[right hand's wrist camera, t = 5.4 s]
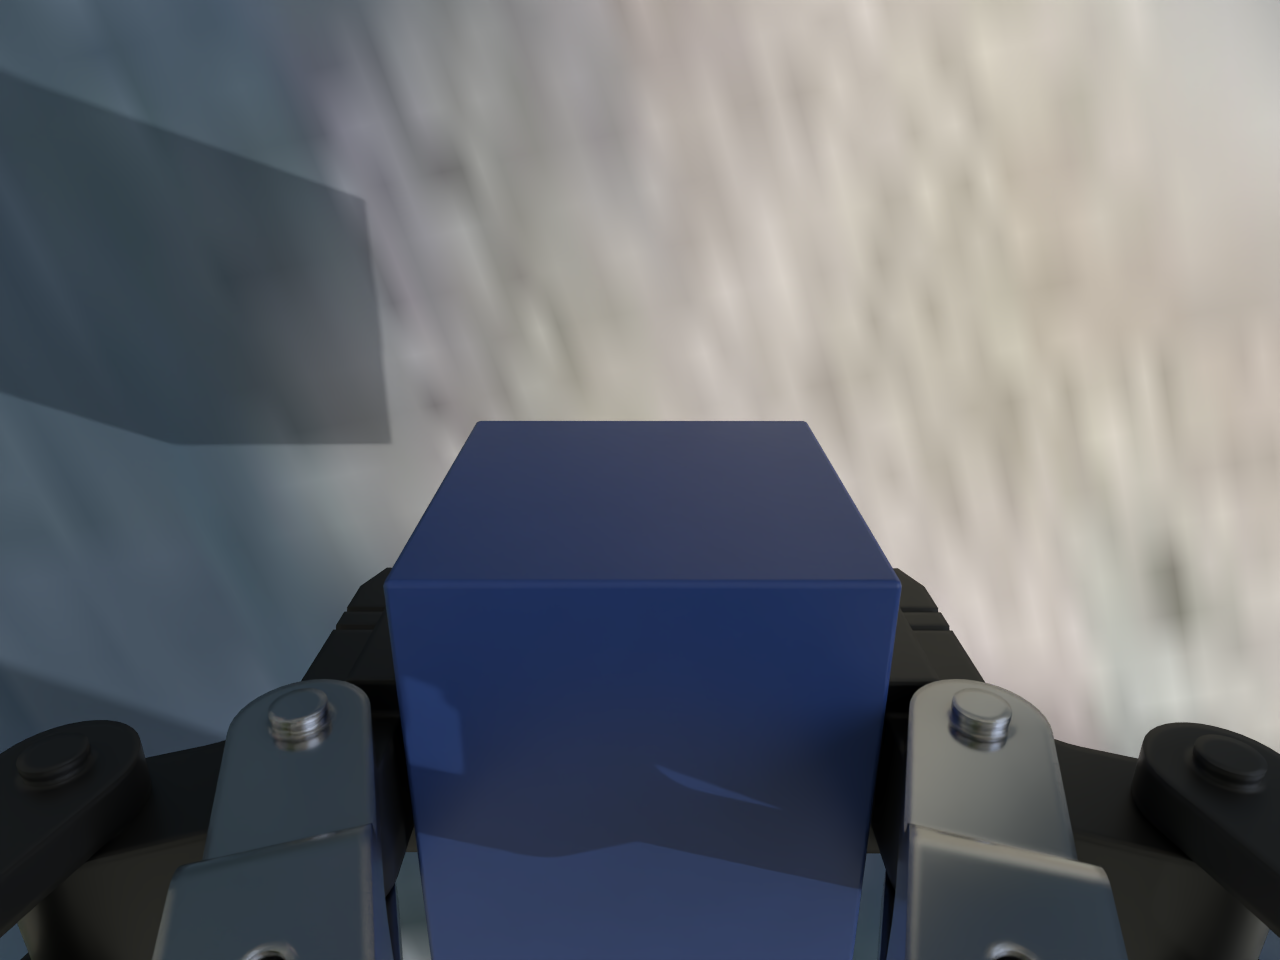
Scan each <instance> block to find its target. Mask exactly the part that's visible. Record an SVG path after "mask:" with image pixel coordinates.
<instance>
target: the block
mask: <svg viewBox="0 0 1280 960" xmlns="http://www.w3.org/2000/svg"><path fill="white" fill-rule="evenodd" d="M383 587H384V595H385V603H386V611H387V618H388V626H389V634H390V642H391V649H392V657H393V665H394V673H395V681H396V688H397V696H398V704H399V712H400V719H401V727H402V735H403V743H404V750H405V758H406V766H407V774H408V782H409V789H410V797H411V805H412V813H413V820H414V828H415V836H416V844H417V851H418V859H419V867H420V875H421V883H422V890H423V898H424V906H425V914H426V921H427V929H428V937H429V945H430V952H431V960H852V959H853V952H854V944H855V937H856V929H857V921H858V914H859V906H860V899H861V891H862V884H863V876H864V868H865V861H866V853H867V846H868V838H869V831H870V823H871V815H872V808H873V800H874V793H875V785H876V777H877V770H878V762H879V755H880V747H881V740H882V732H883V724H884V717H885V709H886V702H887V694H888V686H889V679H890V671H891V664H892V656H893V649H894V641H895V633H896V626H897V618H898V611H899V603H900V595H901V588H902V585H901V582H900V580H899V578H898V577H897V575H896V573H895V572H894V570H893V568H892V566H891V565H890V563H889V561H888V560H887V558H886V556H885V555H884V553H883V551H882V549H881V548H880V546H879V544H878V543H877V541H876V539H875V538H874V536H873V534H872V532H871V531H870V529H869V527H868V526H867V524H866V522H865V521H864V519H863V517H862V516H861V514H860V512H859V510H858V509H857V507H856V505H855V504H854V502H853V500H852V499H851V497H850V495H849V493H848V492H847V490H846V488H845V487H844V485H843V483H842V482H841V480H840V478H839V477H838V475H837V473H836V471H835V470H834V468H833V466H832V465H831V463H830V461H829V460H828V458H827V456H826V454H825V453H824V451H823V449H822V448H821V446H820V444H819V443H818V441H817V439H816V438H815V436H814V434H813V432H812V431H811V429H810V427H809V426H808V424H807V423H806V422H804V421H479V422H477V423H476V425H475V427H474V428H473V430H472V432H471V434H470V435H469V437H468V439H467V440H466V442H465V444H464V446H463V447H462V449H461V451H460V452H459V454H458V456H457V458H456V459H455V461H454V463H453V465H452V466H451V468H450V470H449V471H448V473H447V475H446V477H445V478H444V480H443V482H442V483H441V485H440V487H439V489H438V490H437V492H436V494H435V495H434V497H433V499H432V501H431V502H430V504H429V506H428V508H427V509H426V511H425V513H424V514H423V516H422V518H421V520H420V521H419V523H418V525H417V526H416V528H415V530H414V532H413V533H412V535H411V537H410V538H409V540H408V542H407V544H406V545H405V547H404V549H403V551H402V552H401V554H400V556H399V557H398V559H397V561H396V563H395V564H394V566H393V568H392V569H391V571H390V573H389V575H388V576H387V578H386V580H385V582H384V585H383Z"/></svg>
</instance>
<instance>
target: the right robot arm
mask: <svg viewBox="0 0 1280 960" xmlns="http://www.w3.org/2000/svg"><path fill="white" fill-rule="evenodd" d="M391 569H392V568H386V569H384V570H383V571H382V572H380V573H379V574H377V575H376V576H374V577H373V578H371V579H370V580H369V581H367V582H366V583H364V584H363V585H361V586H360V588H359V589H358V591H357V593H356V594H355V596H354V597H353V599H352V601H351V602H350V604H349V605H348V607H347V612H344V613H343V615H342V617H341V618H340V620H339V621H338V623H337V625H336V630H333V631H332V633H331V634H330V636H329V637H328V639H327V641H326V642H325V644H324V645H323V647H322V649H321V650H320V652H319V653H318V655H317V657H316V658H315V660H314V661H313V663H312V665H311V666H310V668H309V669H308V671H307V673H306V674H305V676H304V677H303V679H302V681H301V682H296V683H292V684H288V685H285V686H282V687H279V688H277V689H274V690H272V691H269V692H267V693H265V694H263V695H262V696H260V697H258V698H256V699H255V700H253V701H252V702H250V703H249V704H248V705H247V706H245V707H244V708H243V709H242V710H241V711H240V712H239V713H238V714H237V715H236V716H235V717H234V719H233V721H232V722H231V724H230V726H229V729H228V732H227V737H226V740H224V741H221V742H218V743H214V744H210V745H206V746H201V747H197V748H192V749H187V750H182V751H177V752H172V753H168V754H163V755H158V756H153V757H148V758H145V755H144V752H143V748H142V744H141V741H140V738H139V735H138V733H137V732H136V731H135V730H134V729H133V728H132V727H130V726H128V725H126V724H123V723H120V722H116V721H109V720H93V721H82V722H77V723H72V724H67V725H63V726H60V727H56V728H53V729H50V730H47V731H44V732H41V733H39V734H37V735H34V736H32V737H30V738H27V739H25V740H24V741H22V742H20V743H18V744H16V745H14V746H12V747H11V748H9V749H7V750H6V751H4V752H3V753H1V754H0V938H1V937H2V936H3V935H4V934H5V933H6V932H7V931H8V930H10V929H11V928H12V927H13V926H14V925H15V924H16V923H18V926H19V929H20V931H21V934H22V937H23V939H24V942H25V945H26V947H27V950H28V953H27V954H26V955H25V956H24V957H23V958H22V959H21V960H403V955H402V941H401V927H400V913H399V900H398V893H397V886H396V879H397V877H398V873H399V870H400V867H401V864H402V861H403V858H404V855H405V852H418V851H417V844H416V836H415V828H414V820H413V813H412V805H411V797H410V789H409V782H408V774H407V766H406V758H405V750H404V743H403V735H402V727H401V719H400V712H399V704H398V696H397V688H396V681H395V673H394V665H393V657H392V649H391V642H390V634H389V626H388V618H387V611H386V603H385V595H384V587H383V585H384V582H385V580H386V578H387V576H388V575H389V573H390V571H391ZM893 570H894V572H895V573H896V575H897V577H898V578H899V580H900V582H901V585H902V588H901V595H900V603H899V611H898V618H897V626H896V633H895V641H894V649H893V656H892V664H891V671H890V679H889V686H888V694H887V702H886V709H885V717H884V724H883V732H882V740H881V747H880V755H879V762H878V770H877V777H876V785H875V793H874V800H873V808H872V815H871V823H870V831H869V838H868V846H867V853H881V856H882V859H883V862H884V865H885V868H886V872H885V879H884V886H883V893H882V900H881V913H880V928H879V942H878V956H877V960H1259V959H1258V958H1259V955H1260V953H1261V950H1262V947H1263V945H1264V942H1265V940H1266V937H1267V934H1268V932H1269V929H1270V930H1272V931H1273V932H1274V933H1275V934H1276V935H1277V936H1278V937H1279V938H1280V754H1279V753H1277V752H1275V751H1274V750H1272V749H1271V748H1269V747H1267V746H1265V745H1263V744H1261V743H1259V742H1257V741H1255V740H1253V739H1251V738H1248V737H1246V736H1244V735H1241V734H1238V733H1235V732H1232V731H1229V730H1226V729H1222V728H1219V727H1215V726H1210V725H1205V724H1198V723H1169V724H1164V725H1161V726H1158V727H1156V728H1154V729H1152V730H1150V731H1149V732H1148V733H1147V735H1146V736H1145V738H1144V741H1143V744H1142V747H1141V751H1140V754H1139V758H1138V759H1137V758H1132V757H1128V756H1123V755H1118V754H1113V753H1108V752H1103V751H1099V750H1094V749H1089V748H1084V747H1080V746H1076V745H1072V744H1068V743H1065V742H1062V741H1059V740H1056V739H1054V737H1053V732H1052V729H1051V726H1050V724H1049V722H1048V721H1047V719H1046V717H1045V716H1044V715H1043V714H1042V713H1041V712H1040V711H1039V710H1038V709H1037V708H1036V707H1035V706H1034V705H1032V704H1031V703H1030V702H1028V701H1027V700H1025V699H1024V698H1022V697H1020V696H1018V695H1017V694H1015V693H1013V692H1011V691H1008V690H1006V689H1003V688H1001V687H998V686H995V685H992V684H989V683H985V681H984V680H983V678H982V677H981V675H980V674H979V672H978V670H977V669H976V667H975V666H974V664H973V663H972V661H971V659H970V658H969V656H968V655H967V653H966V651H965V650H964V648H963V647H962V645H961V644H960V642H959V640H958V639H957V637H956V636H955V634H954V633H953V631H950V630H949V625H948V623H947V622H946V620H945V618H944V617H943V615H942V614H941V612H938V607H937V606H936V604H935V603H934V601H933V599H932V598H931V596H930V595H929V593H928V592H927V590H926V588H925V587H924V586H923V585H921V584H920V583H918V582H917V581H915V580H914V579H912V578H911V577H910V576H908V575H907V574H905V573H904V572H902V571H901V570H899V569H898V568H893Z"/></svg>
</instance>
